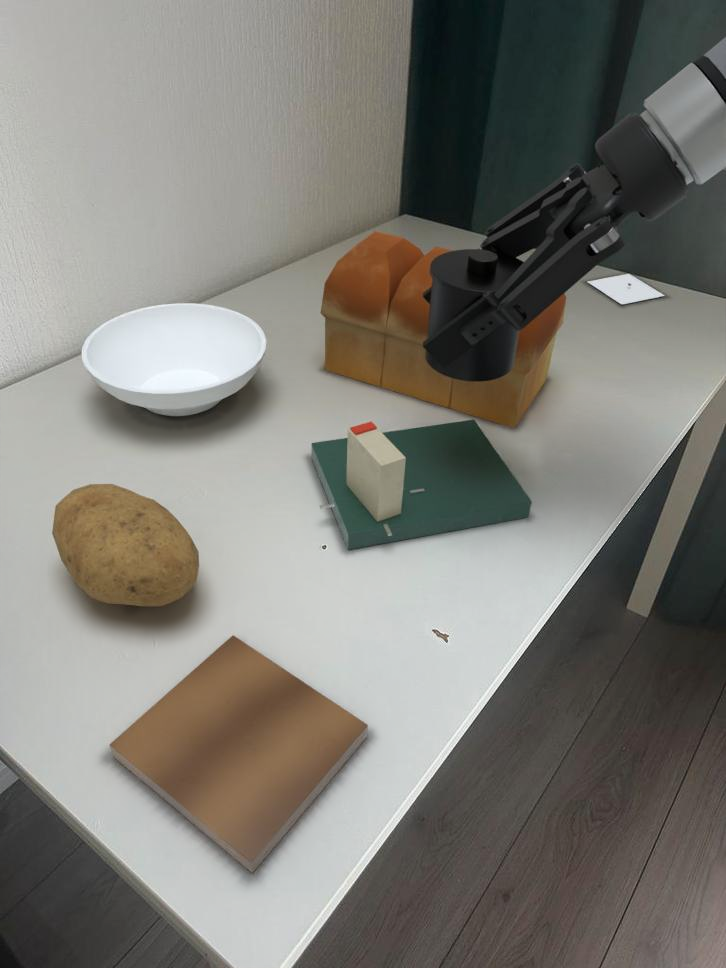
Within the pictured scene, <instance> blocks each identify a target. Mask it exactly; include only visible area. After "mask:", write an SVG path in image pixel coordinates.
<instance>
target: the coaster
mask: <svg viewBox="0 0 726 968" xmlns="http://www.w3.org/2000/svg"><path fill="white" fill-rule="evenodd" d="M586 282H587V283H588V284H589V285H591V286H593V287H594V288H596V289H597V290H598V291H600V292H602V293H603V294H604V295H606V296H608V297H609V298H611V299H612V300H614V301H615V302H617V303H619V304H620V305H627V304H632V303H637V302H641V301H647V300H650V299H651V300H652V299H656V298H661V297H665V294H663V293H662V292H660V291H659V290H656V289H655V288H653V287H651V286H650V285H648V284H647V283H645V282H644V281H642V280H640V279H639V278H637V277H635V276H634V275H632V274H630V273H625V274H620V275H614V276H609V277H603V278H599V279H593V280H588V281H586Z"/></svg>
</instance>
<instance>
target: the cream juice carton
mask: <svg viewBox="0 0 726 968" xmlns="http://www.w3.org/2000/svg"><path fill="white" fill-rule="evenodd" d="M383 433H384V432H382V431H381V430H380V429H379V428H378V426H377V425H376V424H375V423H374V422H373V421H368V422H363V423H361V424H357V425H355V426H351V427H350V428H348V429H347V438H348V442H347V476H346V485H347V486H348V487H349V488H350V489H351V491H352V492H353V493H354V494H355V495H356V497H357V498H358V499H359V500H360V502H361V503H362V504H363V505H364V506H365V508H366V509H367V510H368V511H369V512H370V514H371V515H372V516H373V517H374V518H375V520H376V521H377V522H379V521H382V520H385V519H388V518H390V517H393V516H396V515H399V514H401V507H402V496H403V485H404V474H405V462H406V457H405V456H404V455H403V454H402V453H401V452H400V451H399V450H398V449H397V448H396V447H395V446H394V445H393V444H392V443H391V442H390V441H389V440H388V439H387V438H386V437H385V435H384V434H383Z"/></svg>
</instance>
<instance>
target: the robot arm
mask: <svg viewBox="0 0 726 968" xmlns="http://www.w3.org/2000/svg"><path fill="white" fill-rule="evenodd" d="M643 109H644V111H643V112H641V113H640V114H638V113H637V112H634V113H631V112H630V113H628V114H627V115H626V116H624V118H622V119H621V120H620V121H619V122H617V123H616V124H615V125H614V126H613V127H611V128H610V129H609V130H607V131H606V132H605V133H604V134H603V135H602V136H600V137H599V138H598V139H597V140H596V141H595V144H594V148H595V149H594V150H595V152H596V154H597V155H598V157H599V158H600V160H601V161H602V163H600V164H599V165H598V166H596V167H594V168H593V169H591V170H589V171H588V172H586V171H585V169H584V168H583V167H582V165H581V163H579V162H577V163H574V164H572V165H571V166H569V168H568V169H567V170H566V171H565V172H563V174H561V175H560V176H559V177H558V178H557V179H555V180H554V181H553V182H551V183H550V184H548V185H547V186H546V187H544V188H543V189H542V190H540V191H539V192H537V193H535V194H534V195H533V196H532V197H530V198H529V199H527V200H526V201H524V202H523V203H522V204H520V205H519V206H517V207H516V208H514V209H513V210H512V211H510V212H509V213H507V214H506V215H505V216H503V217H501V219H498V220H497V221H496V222H495V223H493V224H492V225H490V226H489V227H488V228H486V229H485V232H484V235H485V236H486V238H485V239H483V240H482V242H481V244H480V245H479V247H480V248H481V249H480V248H478V249H479V250H489V251H495V252H500V253H504V254H507V255H510V256H513V257H515V258H518V257H520V256H522V255H523V254H526V253H528V252H530V251H531V250H534V249H535V248H536V249H535V250H534V251H533V252H531V254H529V256H528V257H527V258H526V259H525V261H523V262H524V263H523V264H522V265H521V266H520V267H519V268H518V269H517V270H516V271H515V272H514V274H513V275H512V276H511V277H510V278H509V279H508V280H507V281H506V282H505V283H504V284H503V285H502V286H501V287H500V288H499V290H498V291H497V292H496V293H495V294H493V292H490V291H487V290H486V291H485V292H484V293H483V297H482V298H480V299H479V300H478V301H476V302H475V303H474V304H472V305H471V306H470V307H468V308H467V309H466V310H465V311H463V312H462V313H461V314H459V315H458V316H457V317H455V318H454V319H453V320H452V321H450V322H449V323H448V324H446V325H445V326H444V327H442V328H441V329H440V330H438V331H437V332H436V333H435V334H433V335H432V336H431V337H429V338H428V339H427V340H425V341H424V342H423V347H424V348H425V349H426V350H427V351H428V353H429V354H430V355H431V356H432V357H433V358H434V359H435V360H436V361H437V362H438V363H439V364H440V365H441V366H442V367H443V368H445V367H446V366H448V365H449V364H450V363H452V362H453V361H454V360H456V359H457V358H458V357H460V356H461V355H462V354H464V353H465V352H467V351H468V350H469V349H471V348H472V347H473V346H475V345H476V344H477V343H479V342H480V341H482V340H483V339H484V338H486V337H487V336H488V335H490V334H491V333H492V332H494V331H495V330H497V329H498V328H499V327H501V326H502V325H503V324H505V323H507V324H508V325H510V324H511V325H512V326H513V327H514V328H515V329H516V330H517V331H519V330H521V329H523V328H524V327H526V326H527V325H528V324H529V323H530V322H531V321H533V320H534V319H535V318H536V317H537V316H538V315H540V314H541V313H542V312H543V311H544V310H545V309H546V308H548V307H549V306H550V305H551V304H552V303H553V302H555V301H556V300H557V299H558V298H559V297H560V296H562V295H563V294H564V293H565V294H566V292H567V291H569V290H570V289H571V288H572V287H573V286H574V285H576V284H577V283H578V282H579V281H580V280H581V279H582V278H584V277H585V276H586V275H587V274H589V273H590V272H591V271H592V270H593V269H594V268H595V267H597V266H598V265H599V264H601V263H602V262H604V261H605V260H607V259H608V258H610V257H611V256H613V255H614V254H616V253H618V252H619V251H620V250H621V249H623V248H624V247H625V245H626V241H625V239H624V238H623V237H622V236H621V234H620V233H619V232H618V228H619V227H620V226H621V225H622V224H623V223H624V222H625V220H627V219H628V218H629V217H630V216H631V215H632V214H633V213H638V215H639V216H640V217H641V218H642V220H643V221H645V222H653V221H655V220H656V219H658V218H659V217H660V216H662V215H663V214H665V213H667V211H669V210H670V209H672V208H673V207H674V206H676V205H677V204H678V203H680V202H681V201H682V200H684V199H686V197H688V195H687V194H688V193H689V192H690V190H689V188H688V186H687V185H689V184H691V183H692V182H694V184H695V185H704V183H706V182H707V181H708V180H710V179H711V178H712V177H714V176H716V175H717V174H718V173H720V172H721V171H722V170H723V171H726V36H725V37H724V38H723V39H721V40H720V41H719V42H717V43H716V44H715V45H714V46H713V47H711V49H709V50H708V51H707V52H705V53H704V54H702V55H701V56H700V57H698V58H697V59H696V60H695V61H693V62H690V63H689V64H687V65H686V66H685V67H684V68H682V70H681V69H680V71H679V72H677V73H676V74H675V75H674V76H673V77H671V78H670V79H669V80H667V81H666V82H665V83H664V84H663V85H662V86H660V87H659V88H658V89H656V90H655V91H654V92H653V93H652V94H650V95H649V96H648V97H647V98H645V99H644V100H643ZM431 289H432V286H431V287H430V288H429V289H428V290H426V291H425V292H424V293H423V298H424V299H425V300H426V301H427V302H428V303H429V304H430V300H431Z"/></svg>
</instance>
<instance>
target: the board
mask: <svg viewBox="0 0 726 968" xmlns="http://www.w3.org/2000/svg"><path fill="white" fill-rule="evenodd" d="M368 727H369V725H368V724H367V723H366V722H364V721H362V720H361V719H360V718H358V717H357V716H355V715H353V714H352V713H351V712H349V711H348V710H346V709H345V708H344V707H342V706H341V705H339V704H338V703H336V702H334V701H333V700H332V699H330V698H328V697H327V696H325V695H324V694H322V693H321V692H319V691H318V690H316V689H315V688H314V687H312V686H310V685H309V684H308V683H306V682H304V681H303V680H302V679H300V678H298V677H297V676H295V675H294V674H292V673H291V672H289V671H288V670H286V669H285V668H284V667H282V666H280V665H279V664H277V663H276V662H274V661H272V660H271V659H269V658H268V657H267V656H265V655H264V654H263V653H261V652H259V651H258V650H257V649H255V648H254V647H252V646H251V645H249V644H247V643H245V642H244V641H243V640H241V639H239V638H238V637H237V636H235V635H234V634H232V635H231V636H230V637H229V638H228V639H227V640H226V641H224V643H222V644H221V645H220V646H219V647H218V648H216V650H215V651H213V652H212V653H211V654H210V655H209V656H208V657H207V658H205V659H204V660H203V661H202V662H201V663H200V664H199V665H197V666H196V667H195V668H194V669H193V670H192V671H191V672H190V673H189V674H187V675H186V676H185V677H184V678H183V679H182V680H181V681H179V682H178V683H177V684H176V685H175V686H174V687H172V689H170V690H169V691H168V692H166V694H164V696H163V697H161V698H159V700H158V701H157V702H156V703H154V704H153V705H152V706H151V707H150V708H149V709H148V710H146V711H145V712H144V713H143V714H142V715H141V716H140V717H138V718H137V719H136V720H135V721H134V722H133V723H132V724H131V725H130V726H129V727H127V728H125V730H124V731H123V732H121V734H119V735H118V736H117V737H116V738H115V739H114V740H112V742H110V743H109V748H110V751H111V754H112V757H113V758H114V759H115V760H117V762H119V763H120V764H121V765H122V766H123V767H125V768H126V769H127V770H129V771H130V772H131V773H132V774H133V775H134V776H136V778H138V779H139V780H140V781H141V782H142V783H144V784H145V785H146V786H147V787H149V788H150V789H151V790H152V791H153V792H155V793H156V794H157V795H158V796H160V798H161V799H163V800H164V801H165V802H166V803H167V804H169V805H170V806H171V807H173V808H174V809H175V811H177V812H178V813H179V814H181V815H182V816H183V817H184V818H186V819H187V820H188V821H189V822H190V823H191V824H192V825H194V826H195V827H196V828H197V829H199V831H201V832H202V833H203V834H204V835H206V836H207V837H208V838H210V839H211V840H212V841H213V842H214V843H215V844H216V845H218V846H219V847H220V848H221V849H223V850H224V851H225V852H226V853H227V854H229V856H231V857H232V858H233V859H234V860H236V861H237V863H240V865H242V866H243V868H245V869H246V870H248V871H249V872H250V873H251V874H254V873H255V871H256V870H257V869H258V868H259V866H260V865H261V864H262V863H263V861H264V860H265V859H266V858H267V857H268V856H269V854H270V853H271V852H272V851H273V850H274V848H275V847H276V846H277V845H278V844H279V842H280V841H281V840H282V839H283V838H284V837H285V835H286V834H287V833H288V832H289V830H290V829H291V828H293V826H294V825H295V823H296V822H297V821H298V820H299V818H300V817H301V816H302V815H303V814H304V813H305V812H306V810H307V809H308V808H310V805H311V804H313V802H314V801H315V800H316V799H317V797H318V796H319V795H320V794H321V792H322V791H323V790H324V789H325V788H326V786H328V784H329V783H330V782H331V781H332V779H333V778H334V777H335V776H336V774H337V773H338V772H339V771H340V770H341V769H342V767H343V766H344V765H345V764H346V763H347V761H348V760H349V759H350V757H352V756H353V754H354V753H355V752H356V750H357V749H358V748H359V747H360V746H361V745H362V744H363V742H364V741H366V739H367V737H368Z"/></svg>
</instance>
